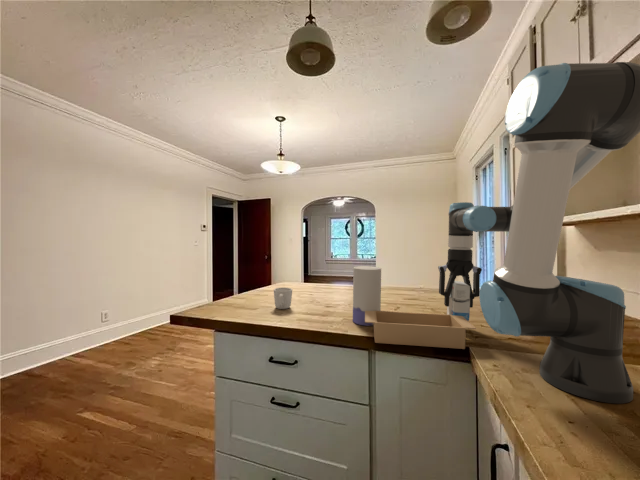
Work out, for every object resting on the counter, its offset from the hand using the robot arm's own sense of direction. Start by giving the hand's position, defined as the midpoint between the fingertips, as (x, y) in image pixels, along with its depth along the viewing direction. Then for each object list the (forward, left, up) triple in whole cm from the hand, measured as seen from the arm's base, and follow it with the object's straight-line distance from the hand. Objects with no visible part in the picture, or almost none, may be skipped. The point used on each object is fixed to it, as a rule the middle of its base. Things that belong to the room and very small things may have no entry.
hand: (458, 316), depth 99 cm
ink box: (0, 0, -1) cm, 1 cm away
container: (+2, +31, -5) cm, 31 cm away
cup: (+13, +66, -5) cm, 67 cm away
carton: (-11, +16, -4) cm, 20 cm away
